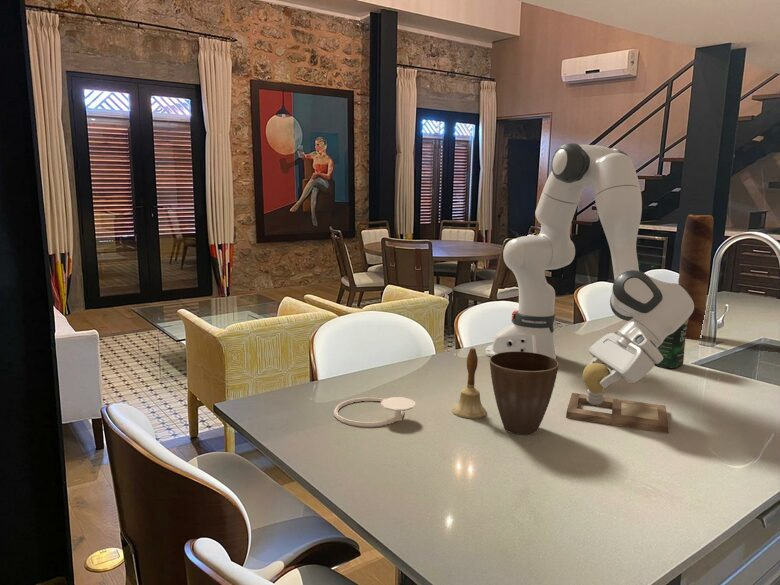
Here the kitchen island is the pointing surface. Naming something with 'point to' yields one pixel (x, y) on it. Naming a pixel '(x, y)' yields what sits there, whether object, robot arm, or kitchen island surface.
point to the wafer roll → (696, 267)
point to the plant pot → (522, 388)
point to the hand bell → (470, 393)
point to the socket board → (621, 413)
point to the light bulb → (595, 382)
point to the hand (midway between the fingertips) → (593, 379)
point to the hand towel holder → (390, 404)
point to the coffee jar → (673, 348)
